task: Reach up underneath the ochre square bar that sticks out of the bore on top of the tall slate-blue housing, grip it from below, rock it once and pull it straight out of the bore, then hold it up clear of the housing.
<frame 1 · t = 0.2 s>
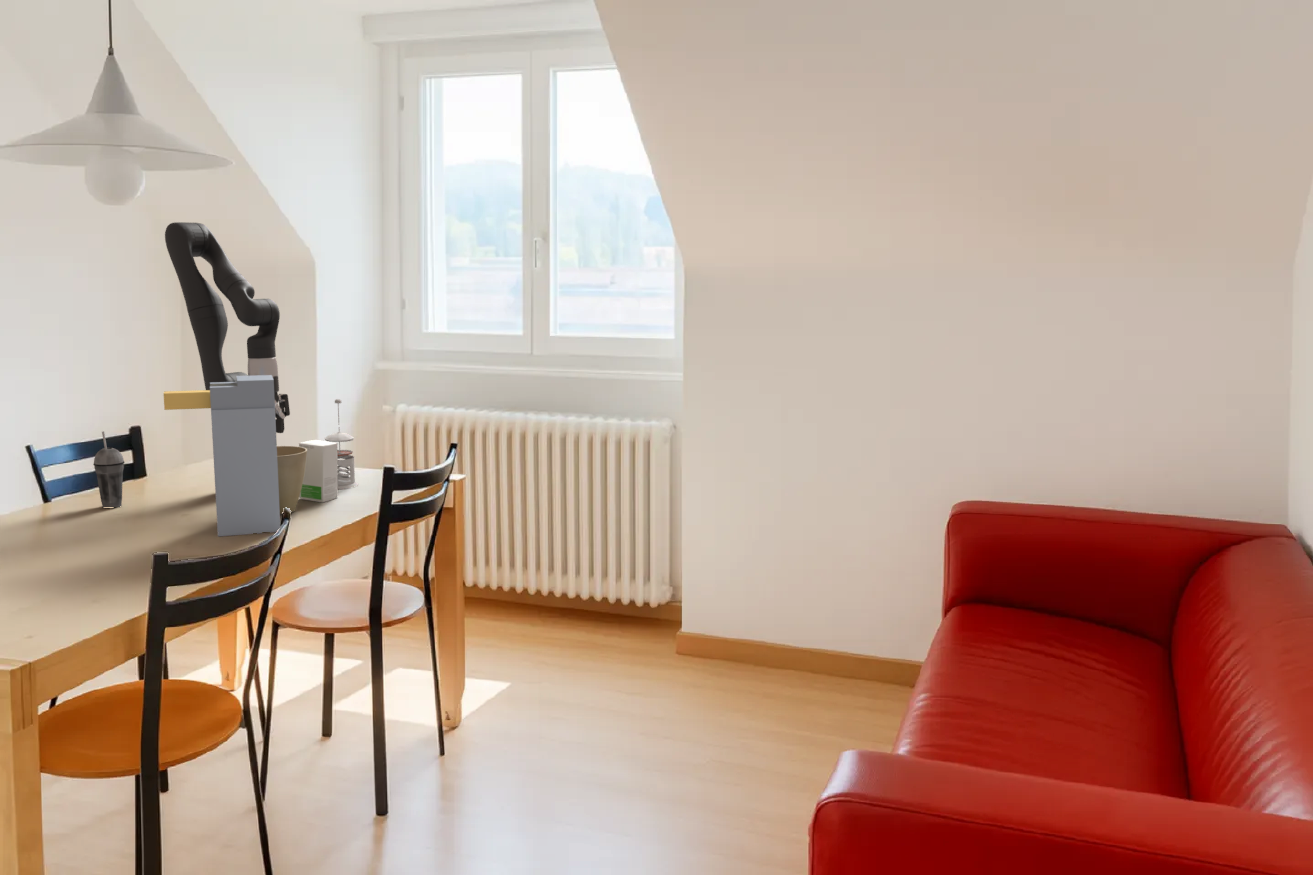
hand: (267, 435, 295), 18 cm above the table, tool pointing down, fingers open, 8 cm apart
beverage cup: (112, 507, 287), on the table
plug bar: (220, 406, 260), point 30 cm above the table, touching housing
housing: (248, 528, 267), on the table
plant pot: (279, 512, 285), on the table
french press: (337, 485, 316), on the table
skincare box: (319, 499, 299), on the table
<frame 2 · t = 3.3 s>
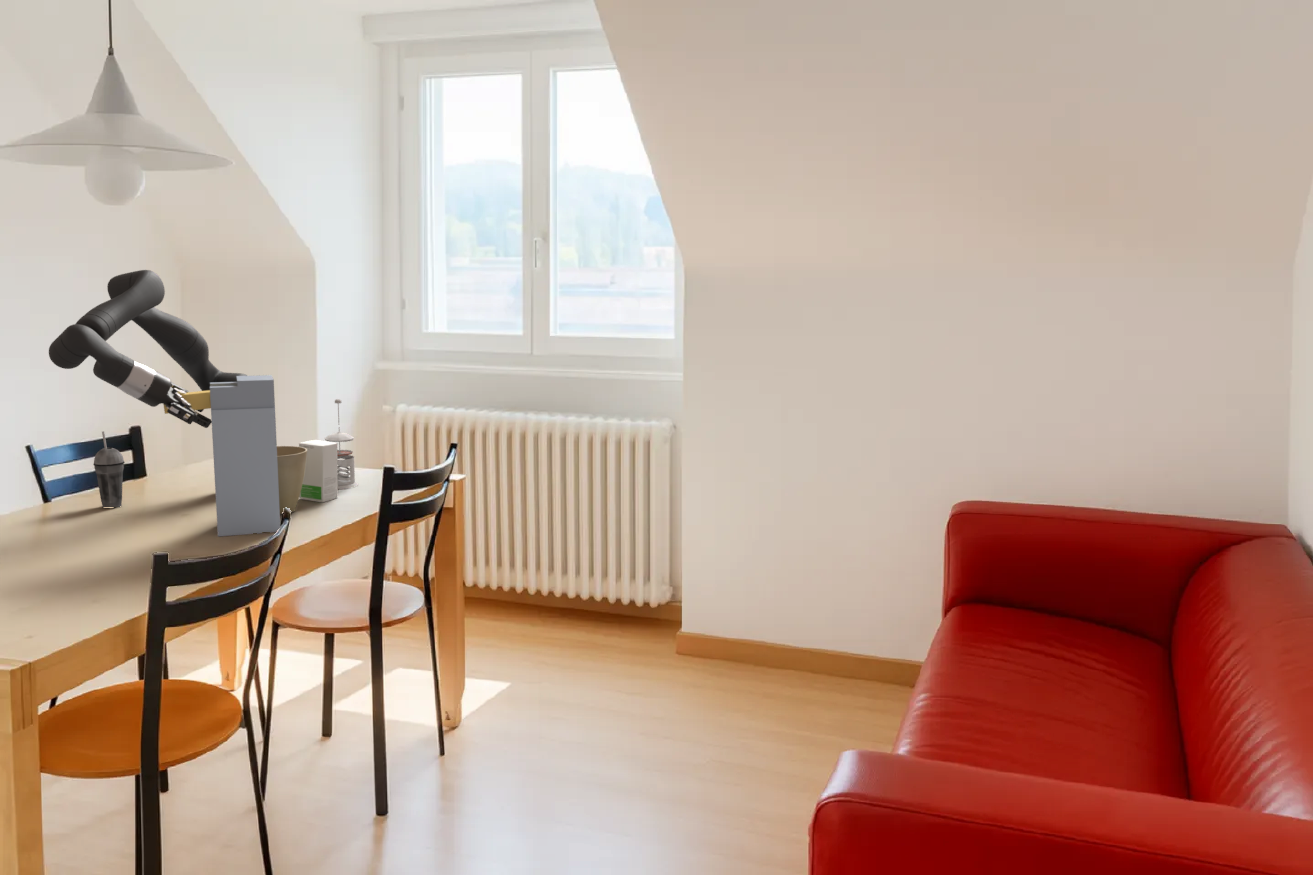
hand: (206, 416, 259), 28 cm above the table, tool tilted 55°, fingers open, 8 cm apart
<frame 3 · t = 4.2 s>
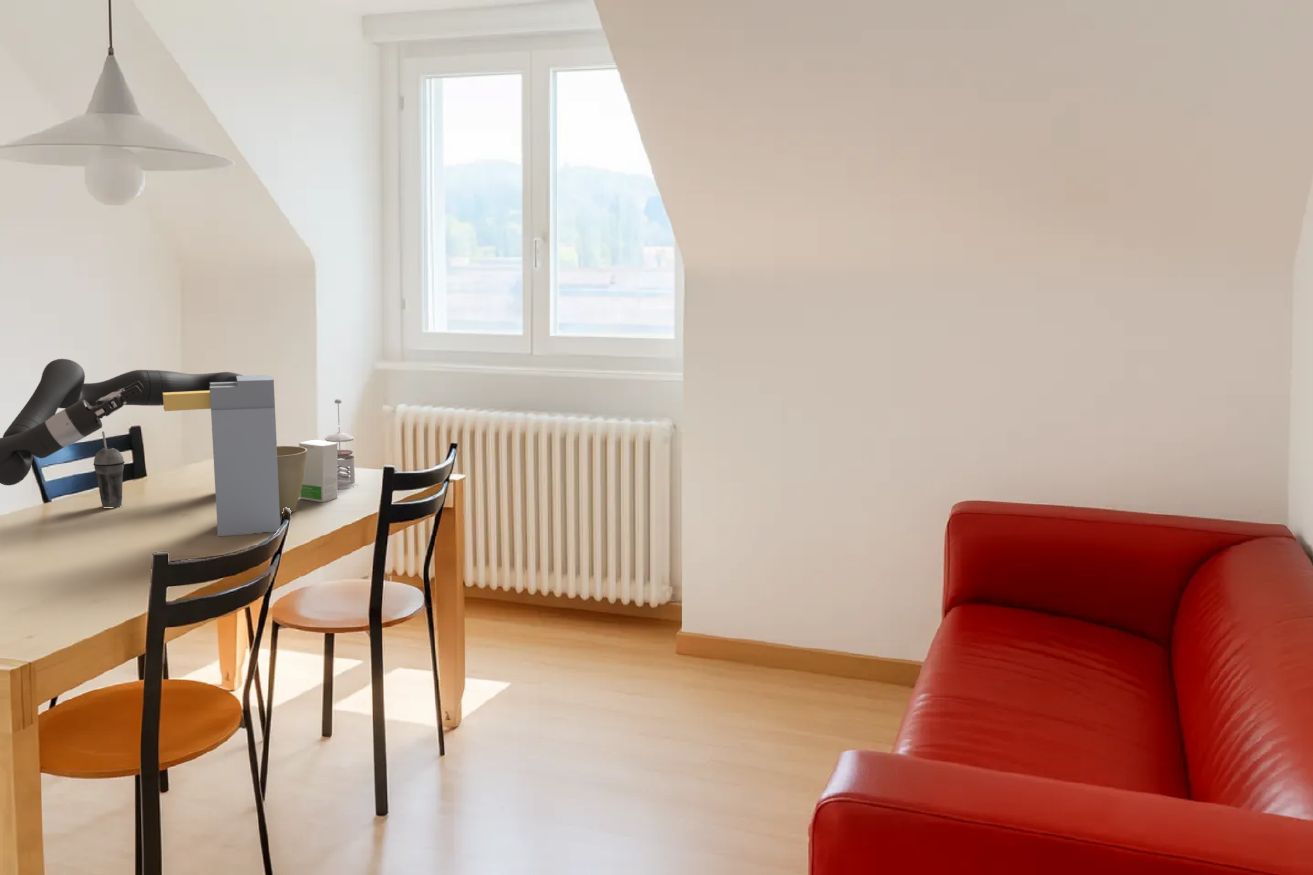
hand: (140, 386, 253), 35 cm above the table, tool pointing upward, fingers open, 8 cm apart
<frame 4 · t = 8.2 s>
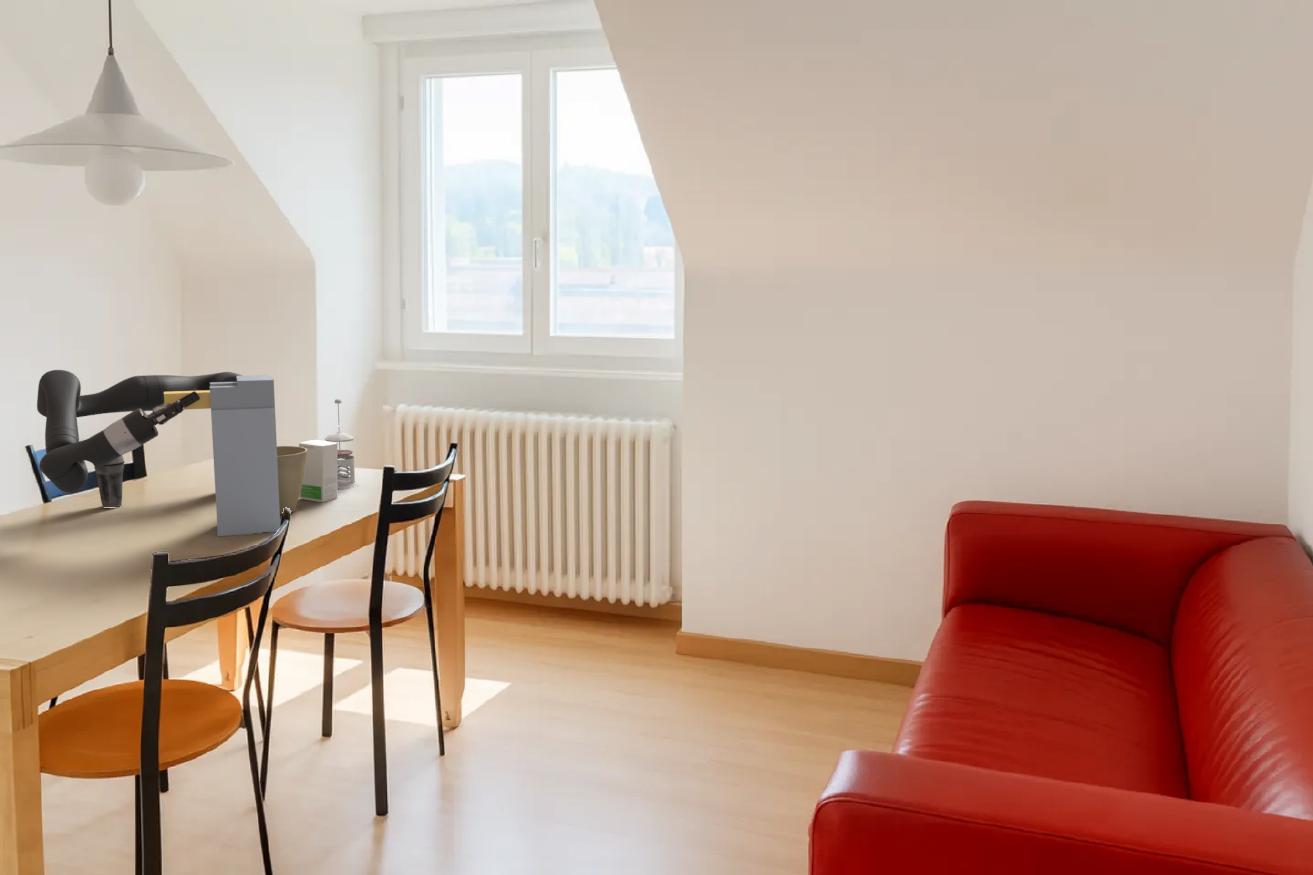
hand: (197, 393, 258), 33 cm above the table, tool pointing upward, fingers open, 4 cm apart
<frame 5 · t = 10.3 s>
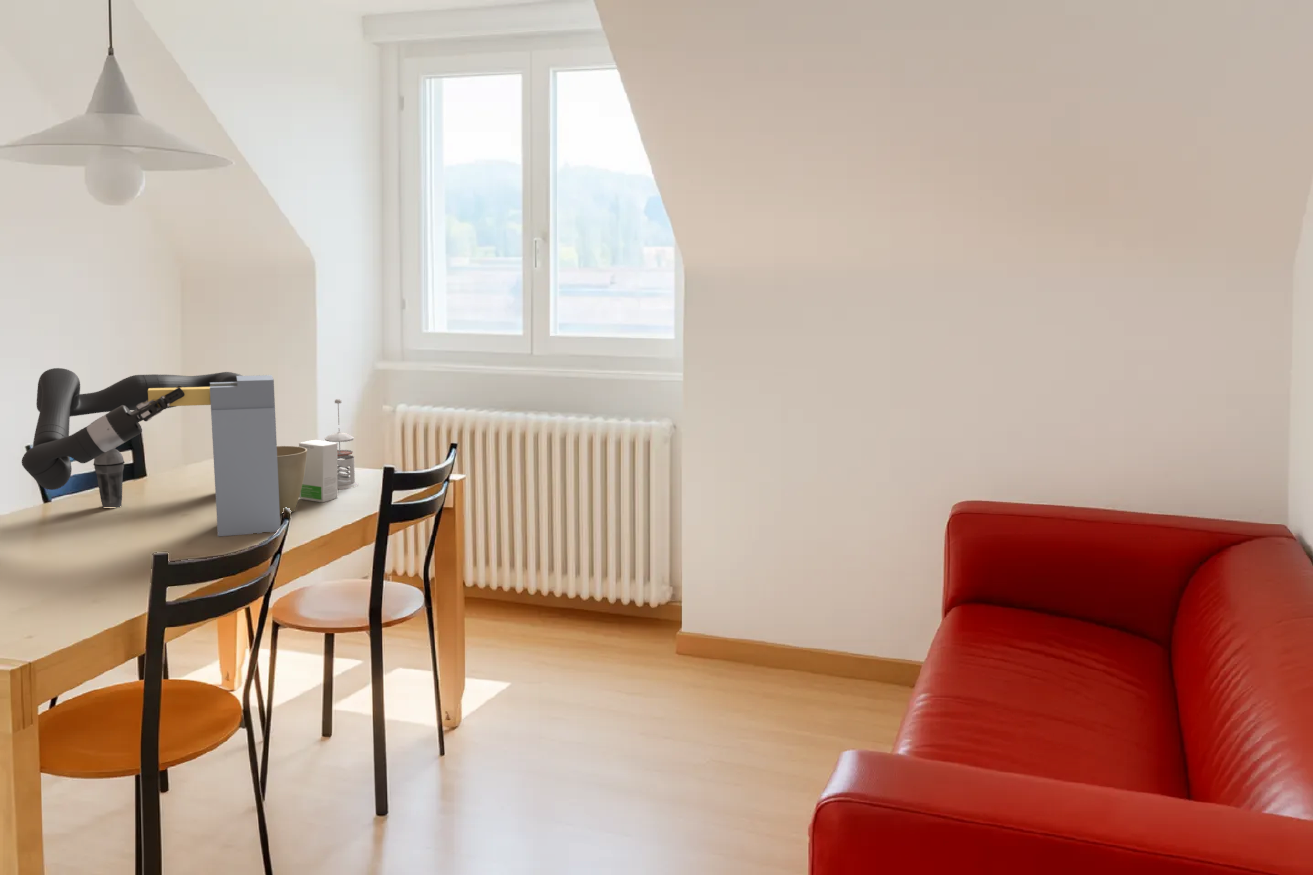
hand: (182, 390, 257), 34 cm above the table, tool pointing upward, fingers closed on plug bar, 3 cm apart
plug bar: (205, 403, 259), point 31 cm above the table, touching gripper
everything else where it was.
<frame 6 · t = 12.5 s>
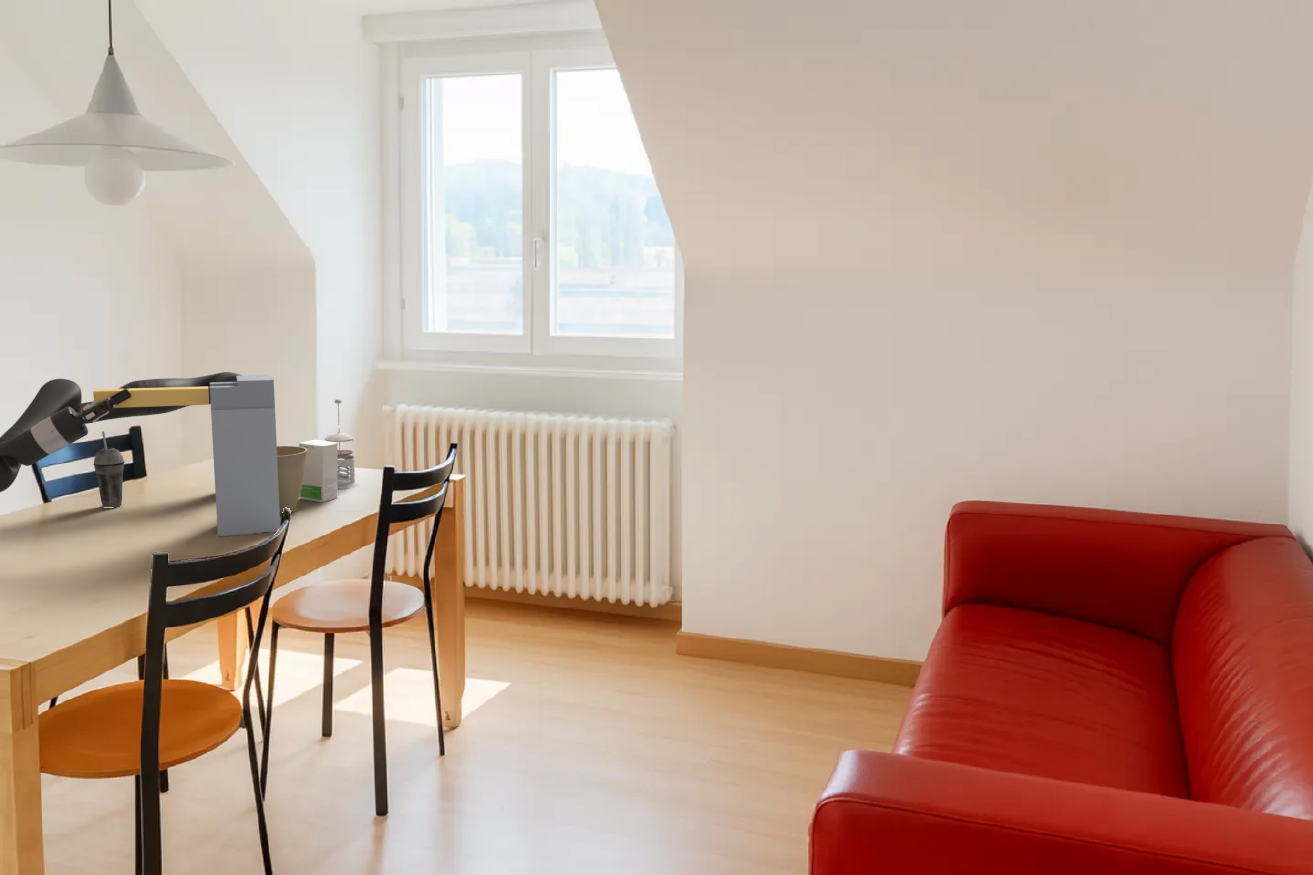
hand: (129, 391, 253), 34 cm above the table, tool pointing upward, fingers closed on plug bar, 3 cm apart
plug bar: (153, 405, 255), point 31 cm above the table, touching gripper
everything else where it was.
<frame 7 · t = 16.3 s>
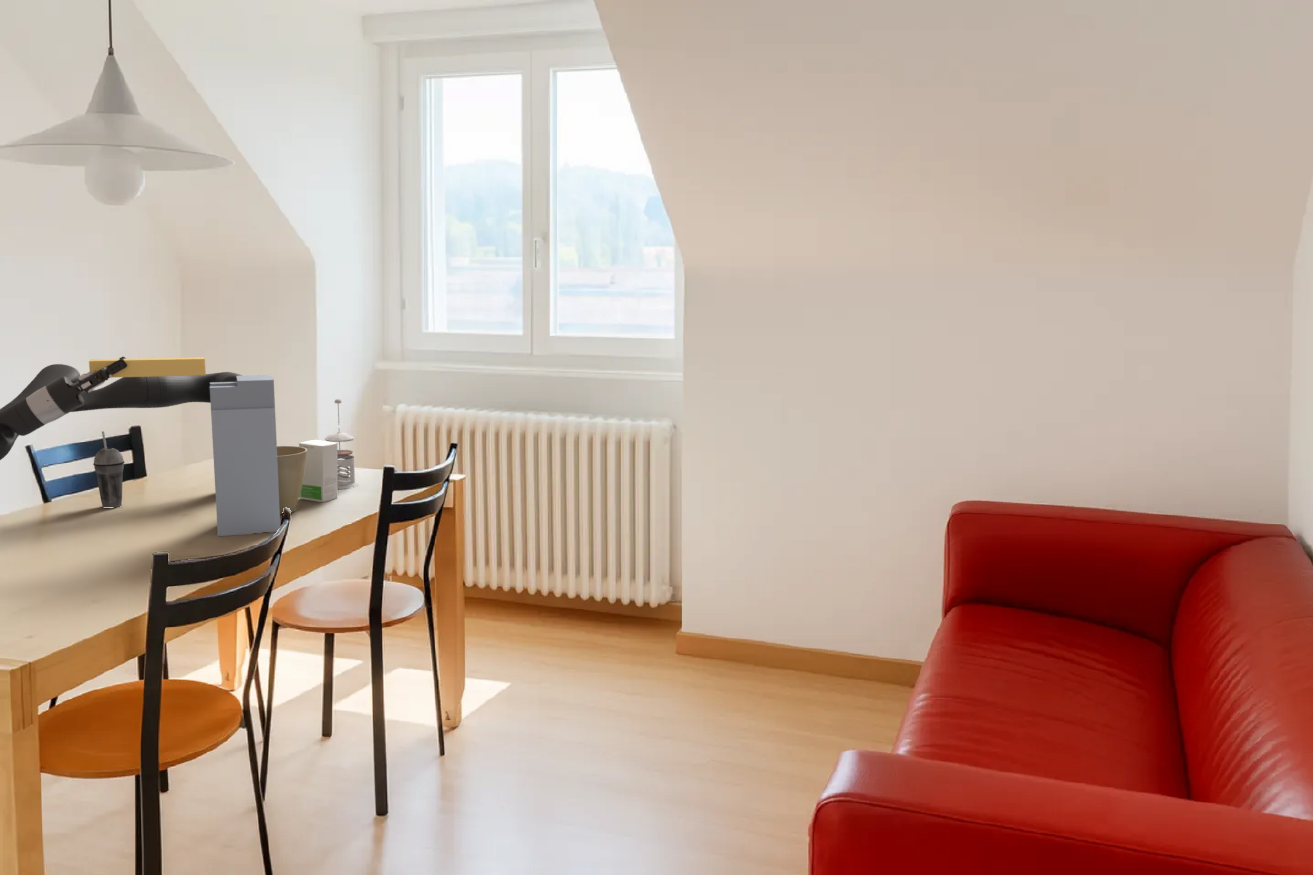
hand: (125, 361, 251), 41 cm above the table, tool pointing upward, fingers closed on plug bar, 3 cm apart
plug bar: (149, 375, 254), point 38 cm above the table, touching gripper
everything else where it was.
at the end: the gripper is holding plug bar; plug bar moved 16.7 cm from its start; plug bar touching gripper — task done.
